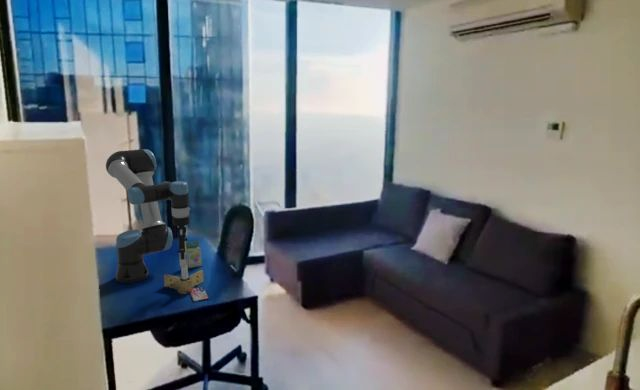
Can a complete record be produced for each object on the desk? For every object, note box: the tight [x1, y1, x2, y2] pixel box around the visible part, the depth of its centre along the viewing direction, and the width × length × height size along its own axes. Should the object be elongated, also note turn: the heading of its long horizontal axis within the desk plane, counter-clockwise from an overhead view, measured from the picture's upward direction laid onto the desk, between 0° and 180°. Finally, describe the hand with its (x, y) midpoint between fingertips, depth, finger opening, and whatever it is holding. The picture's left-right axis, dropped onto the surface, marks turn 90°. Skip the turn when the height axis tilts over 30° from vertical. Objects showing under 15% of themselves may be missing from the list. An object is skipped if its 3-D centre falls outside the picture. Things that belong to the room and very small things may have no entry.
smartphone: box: [188, 285, 211, 303], centre depth 209 cm, size 8×1×15 cm
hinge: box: [163, 269, 204, 295], centre depth 217 cm, size 15×16×6 cm
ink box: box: [186, 240, 203, 269], centre depth 240 cm, size 7×4×13 cm, turn 120°
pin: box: [180, 259, 189, 281], centre depth 210 cm, size 3×3×15 cm
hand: (183, 260), depth 209 cm, fingers open, 13 cm apart
